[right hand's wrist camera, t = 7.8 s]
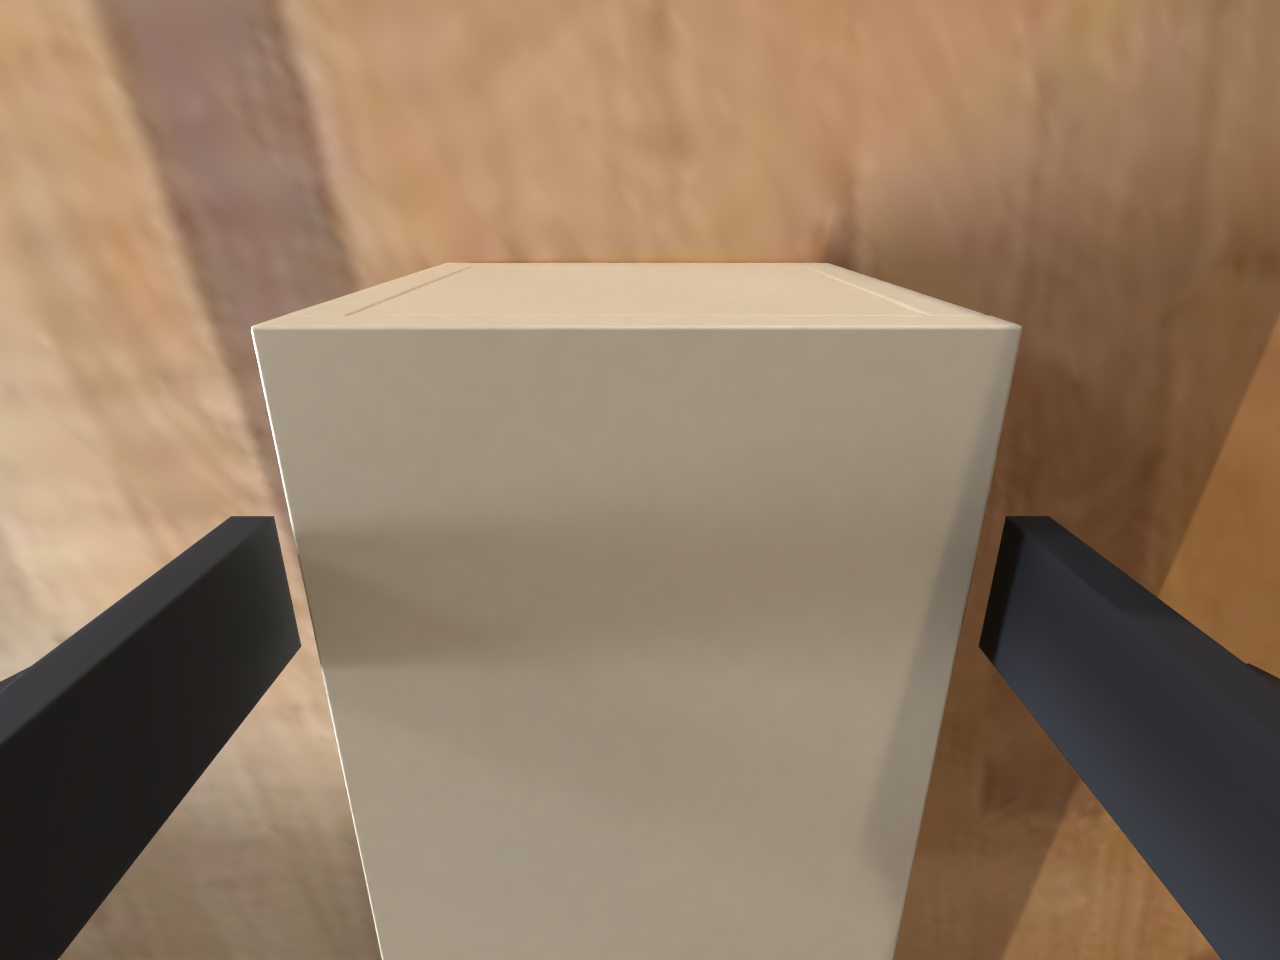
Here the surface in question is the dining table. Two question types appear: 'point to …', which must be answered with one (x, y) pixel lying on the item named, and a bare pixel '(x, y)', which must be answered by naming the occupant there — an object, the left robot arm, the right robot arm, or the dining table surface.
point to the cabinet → (637, 595)
